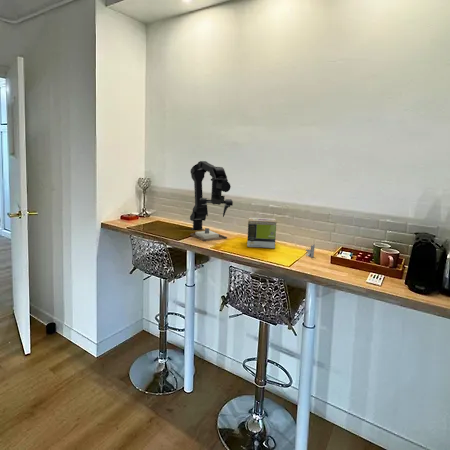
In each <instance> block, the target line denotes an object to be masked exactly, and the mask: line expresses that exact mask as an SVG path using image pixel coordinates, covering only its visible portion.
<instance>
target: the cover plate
mask: <svg viewBox="0 0 450 450" xmlns="http://www.w3.org/2000/svg"><path fill="white" fill-rule="evenodd" d="M219 234H220V233H217V232H215V231H212V230H210V227H209V228H208V227H205V228H204V230H200V231H195V235H197V236H199V237H201V238H204V239H209V238H218V237H219Z"/></svg>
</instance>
